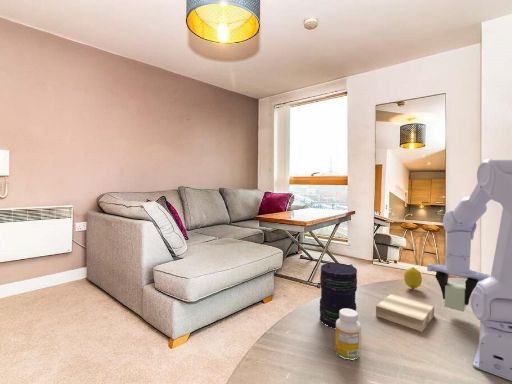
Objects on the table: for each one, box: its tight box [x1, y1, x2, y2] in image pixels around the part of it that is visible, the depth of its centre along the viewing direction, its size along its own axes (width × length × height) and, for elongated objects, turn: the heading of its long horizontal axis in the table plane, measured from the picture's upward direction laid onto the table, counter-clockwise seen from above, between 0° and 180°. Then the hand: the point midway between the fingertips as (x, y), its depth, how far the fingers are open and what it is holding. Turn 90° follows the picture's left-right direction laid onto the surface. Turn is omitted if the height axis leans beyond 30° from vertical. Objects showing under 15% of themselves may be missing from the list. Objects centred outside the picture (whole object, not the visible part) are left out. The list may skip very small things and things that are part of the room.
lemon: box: [403, 266, 423, 290], centre depth 102 cm, size 6×6×8 cm
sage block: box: [444, 281, 467, 313], centre depth 81 cm, size 4×4×6 cm
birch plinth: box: [375, 293, 435, 333], centre depth 82 cm, size 12×12×3 cm
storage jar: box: [319, 262, 358, 329], centre depth 79 cm, size 10×10×15 cm
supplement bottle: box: [334, 308, 362, 359], centre depth 64 cm, size 5×5×10 cm
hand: (455, 301), depth 81 cm, fingers closed on sage block, 4 cm apart
